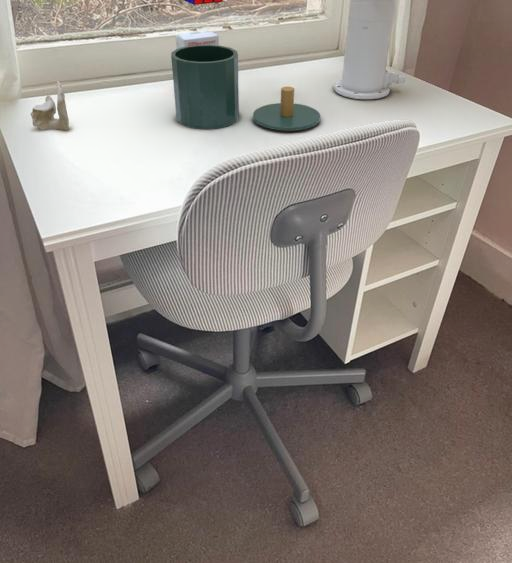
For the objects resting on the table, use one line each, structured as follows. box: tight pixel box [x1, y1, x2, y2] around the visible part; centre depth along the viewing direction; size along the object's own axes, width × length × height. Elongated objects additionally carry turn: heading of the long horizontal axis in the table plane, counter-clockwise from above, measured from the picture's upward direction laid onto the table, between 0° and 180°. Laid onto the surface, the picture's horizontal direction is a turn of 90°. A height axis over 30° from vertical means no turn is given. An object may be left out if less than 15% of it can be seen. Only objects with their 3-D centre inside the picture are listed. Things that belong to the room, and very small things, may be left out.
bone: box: [30, 80, 70, 131], centre depth 103 cm, size 9×6×10 cm
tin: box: [170, 44, 240, 130], centre depth 106 cm, size 13×13×12 cm
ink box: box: [175, 29, 220, 50], centre depth 120 cm, size 9×5×12 cm, turn 120°
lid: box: [252, 86, 321, 131], centre depth 107 cm, size 14×14×6 cm
